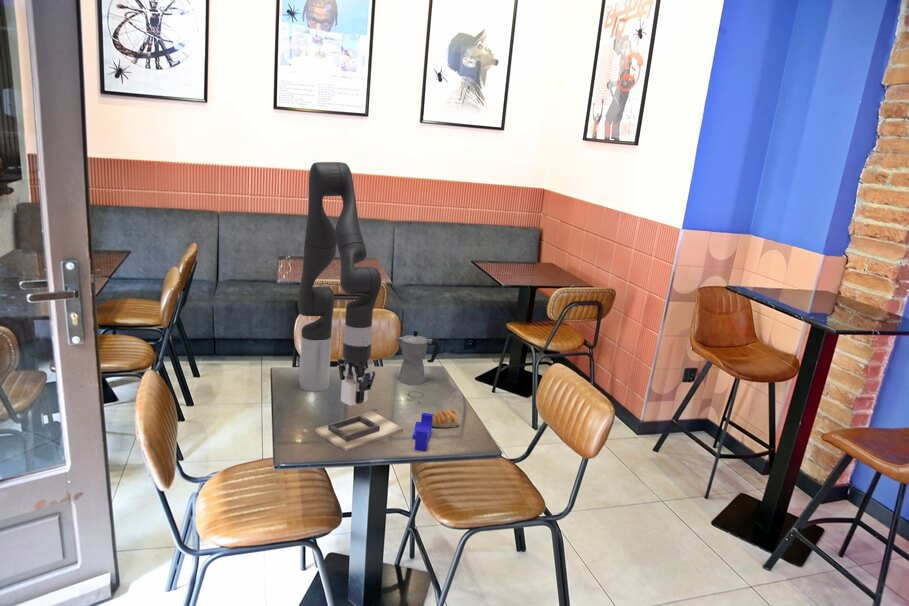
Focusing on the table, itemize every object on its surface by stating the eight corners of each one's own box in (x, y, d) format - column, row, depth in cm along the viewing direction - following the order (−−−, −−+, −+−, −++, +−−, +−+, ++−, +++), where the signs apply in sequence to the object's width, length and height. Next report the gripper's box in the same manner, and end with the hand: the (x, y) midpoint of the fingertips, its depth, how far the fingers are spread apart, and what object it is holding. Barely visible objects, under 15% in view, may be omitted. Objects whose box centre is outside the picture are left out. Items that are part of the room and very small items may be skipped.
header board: (315, 431, 173) (315, 423, 172) (371, 414, 187) (372, 406, 186) (345, 452, 164) (346, 443, 163) (402, 431, 178) (403, 423, 177)
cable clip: (415, 431, 180) (417, 411, 178) (431, 433, 179) (432, 413, 178) (408, 450, 168) (410, 430, 166) (425, 453, 168) (427, 432, 166)
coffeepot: (390, 383, 211) (394, 333, 207) (394, 373, 220) (398, 325, 216) (435, 388, 211) (440, 337, 206) (437, 378, 220) (442, 329, 215)
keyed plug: (340, 400, 170) (341, 380, 169) (361, 395, 175) (362, 375, 174) (349, 405, 167) (350, 385, 166) (370, 399, 173) (371, 379, 171)
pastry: (431, 430, 180) (432, 418, 179) (422, 420, 185) (423, 408, 184) (460, 426, 184) (462, 415, 183) (451, 416, 189) (452, 405, 188)
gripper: (330, 335, 169) (327, 394, 173) (363, 350, 159) (359, 412, 164) (352, 331, 174) (349, 388, 178) (385, 345, 165) (381, 406, 169)
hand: (354, 399), depth 171 cm, fingers closed on keyed plug, 4 cm apart
